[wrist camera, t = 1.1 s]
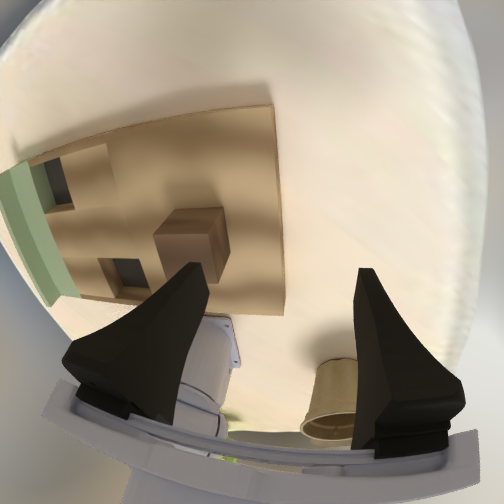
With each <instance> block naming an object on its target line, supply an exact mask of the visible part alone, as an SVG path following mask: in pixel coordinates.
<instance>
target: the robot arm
mask: <svg viewBox="0 0 504 504" xmlns="http://www.w3.org/2000/svg"><path fill="white" fill-rule="evenodd" d="M209 295H210V292H209V289H208V285H207V282H206V279H205V275H204V272H203V269H202V265H201V262H188V263H187V264H186V265H185V266H184V267H183V268H181V269H180V270H179V271H178V272H177V273H176V274H175V275H174V276H173V277H172V278H171V279H169V280H168V281H167V282H166V283H165V284H164V285H163V286H162V287H161V288H159V289H158V290H157V291H156V292H155V293H154V294H152V295H151V296H150V297H149V298H148V299H146V300H145V301H144V302H143V303H141V304H140V305H139V306H137V307H136V308H135V309H133V310H132V311H130V312H129V313H128V314H126V315H124V316H123V317H121V318H120V319H118V320H116V321H115V322H113V323H111V324H110V325H108V326H106V327H104V328H102V329H100V330H98V331H96V332H94V333H92V334H89V335H87V336H84V337H82V338H79V339H77V340H74V341H73V342H72V343H71V345H70V347H69V348H68V350H67V352H66V353H65V355H64V357H63V358H62V364H63V365H64V367H65V368H66V369H67V370H68V371H69V372H70V373H71V374H72V375H73V376H74V377H75V378H76V379H77V380H78V381H79V382H80V383H81V385H80V386H79V388H78V387H77V386H75V385H74V384H72V383H70V382H68V381H66V380H64V379H61V378H60V379H59V381H58V382H57V384H56V386H55V388H54V390H53V392H52V394H51V395H50V398H49V399H48V401H47V403H46V405H45V407H44V409H43V411H42V413H41V416H42V417H44V418H45V419H47V420H48V421H50V422H51V423H52V424H54V425H56V426H57V427H59V428H60V429H62V430H63V431H65V432H66V433H68V434H70V435H71V436H73V437H75V438H77V439H78V440H80V441H82V442H84V443H85V444H87V445H89V446H91V447H93V448H94V449H96V450H98V451H100V452H102V453H104V454H106V455H108V456H110V457H112V458H114V459H116V460H118V461H121V462H123V463H125V464H127V465H128V466H129V467H130V469H131V470H132V472H131V475H130V477H129V480H128V483H127V486H126V489H125V492H124V494H123V497H122V500H121V503H120V504H396V503H402V502H408V501H414V500H420V499H425V498H429V497H434V496H438V495H442V494H446V493H450V492H454V491H457V490H460V489H464V488H467V487H470V486H473V485H476V484H478V483H479V482H480V459H479V458H480V457H479V441H478V430H476V429H474V430H470V431H466V432H461V433H457V434H453V435H450V436H448V430H449V429H450V428H451V424H450V420H451V419H452V418H453V417H455V416H456V415H457V414H458V413H459V412H460V411H461V410H462V409H463V408H464V407H465V404H466V402H465V394H464V390H463V387H462V383H461V381H460V380H459V379H458V378H457V377H455V376H454V375H453V374H452V373H451V372H450V371H448V370H447V369H446V368H445V367H444V366H443V365H442V364H441V363H440V362H438V361H437V360H436V359H435V358H434V357H433V355H432V354H431V353H430V352H429V351H428V350H427V349H426V348H425V347H424V346H423V345H422V344H421V342H420V341H419V340H418V339H417V337H416V336H415V335H414V334H413V332H412V331H411V330H410V329H409V327H408V326H407V324H406V323H405V322H404V320H403V319H402V317H401V316H400V314H399V313H398V311H397V310H396V308H395V307H394V305H393V303H392V302H391V300H390V298H389V297H388V295H387V293H386V291H385V290H384V288H383V286H382V284H381V282H380V281H379V279H378V277H377V275H376V273H375V271H374V269H373V268H359V271H358V277H357V283H356V289H355V295H354V300H353V311H354V329H355V339H356V349H357V360H358V385H357V401H356V413H355V422H354V430H353V437H352V444H351V450H315V449H299V448H287V447H277V446H268V445H260V444H253V443H247V442H241V441H235V440H229V439H226V437H227V431H228V424H227V421H226V419H225V416H224V415H223V414H219V411H220V408H221V407H222V405H223V403H224V401H225V397H226V393H227V389H228V385H229V381H230V377H231V373H232V369H233V368H240V366H241V363H240V358H239V354H238V349H237V345H236V341H235V336H234V331H233V327H232V322H231V320H230V319H229V318H225V317H210V316H204V313H205V310H206V306H207V303H208V299H209ZM226 324H227V325H226ZM219 455H221V456H226V457H231V458H236V459H242V460H248V461H254V462H261V463H269V464H278V465H288V466H300V467H305V468H303V469H302V474H301V473H292V472H284V471H278V470H271V469H266V468H260V467H254V466H249V465H244V464H239V463H234V462H230V461H225V460H220V459H217V458H218V457H219Z"/></svg>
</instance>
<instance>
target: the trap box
mask: <svg viewBox="0 0 504 504" xmlns="http://www.w3.org/2000/svg"><path fill="white" fill-rule="evenodd" d="M208 207H224V213H225V220H226V226H227V232H228V238H229V245H230V251H231V253H230V256H229V258H228V261H227V263H226V266H225V268H224V271H223V273H222V276H221V278H220V281H219V283H218V284H207V285H208V289H209V292H210V295H209V299H208V303H207V306H206V310H205V312H213V313H229V314H248V315H272V316H283V315H284V306H285V273H284V250H283V229H282V211H281V194H280V179H279V164H278V151H277V138H276V125H275V114H274V105H260V106H247V107H237V108H228V109H219V110H212V111H204V112H198V113H191V114H185V115H179V116H174V117H169V118H163V119H159V120H154V121H149V122H145V123H140V124H136V125H132V126H128V127H124V128H120V129H116V130H112V131H109V132H105V133H102V134H98V135H95V136H92V137H88V138H85V139H82V140H79V141H76V142H73V143H70V144H67V145H64V146H61V147H59V148H56V149H53V150H51V151H48V152H45V153H43V154H40V155H38V156H35V157H33V158H30V159H28V160H26V161H23V162H21V163H19V164H17V165H15V166H13V167H11V168H10V169H8V170H6V171H4V172H3V173H1V174H0V210H1V213H2V216H3V218H4V221H5V223H6V226H7V228H8V231H9V233H10V236H11V238H12V240H13V243H14V245H15V247H16V249H17V251H18V254H19V256H20V258H21V260H22V262H23V264H24V266H25V268H26V270H27V272H28V274H29V276H30V278H31V280H32V282H33V283H34V285H35V287H36V289H37V291H38V292H39V294H40V296H41V298H42V299H43V301H44V303H45V304H46V306H47V307H51V306H52V305H53V304H54V303H55V301H56V300H57V299H58V298H59V297H60V295H63V296H69V297H76V298H82V299H89V300H96V301H103V302H111V303H119V304H127V305H136V306H139V305H140V304H141V303H143V302H144V301H145V300H146V299H148V298H149V297H150V296H151V295H152V294H154V293H155V292H156V291H157V290H158V289H159V288H161V287H162V286H163V285H164V284H165V283H166V282H167V280H166V277H165V274H164V271H163V268H162V264H161V261H160V258H159V255H158V252H157V248H156V245H155V242H154V239H153V233H154V232H155V231H156V230H157V229H158V228H159V226H160V225H161V224H162V223H163V222H164V221H165V220H166V218H167V217H168V216H169V215H170V214H171V213H172V212H173V211H174V209H187V208H208Z"/></svg>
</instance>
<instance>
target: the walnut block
mask: <svg viewBox="0 0 504 504" xmlns="http://www.w3.org/2000/svg"><path fill="white" fill-rule="evenodd" d="M153 239H154V242H155V245H156V248H157V252H158V255H159V258H160V261H161V264H162V268H163V271H164V274H165V277H166V280H167V281H168V280H169V279H171V278H172V277H173V276H174V275H175V274H176V273H177V272H178V271H179V270H180V269H181V268H183V267H184V266H185V265H186V264H187V263H188V262H201V265H202V269H203V272H204V275H205V279H206V282H207V284H218V283H219V281H220V278H221V276H222V273H223V271H224V268H225V266H226V263H227V261H228V258H229V256H230V253H231V251H230V245H229V238H228V232H227V226H226V220H225V213H224V207H208V208H187V209H174V211H173V212H172V213H171V214H170V215H169V216H168V217H167V218H166V220H165V221H164V222H163V223H162V224H161V225H160V226H159V228H158V229H157V230H156V231H155V232H154V233H153Z"/></svg>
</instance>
